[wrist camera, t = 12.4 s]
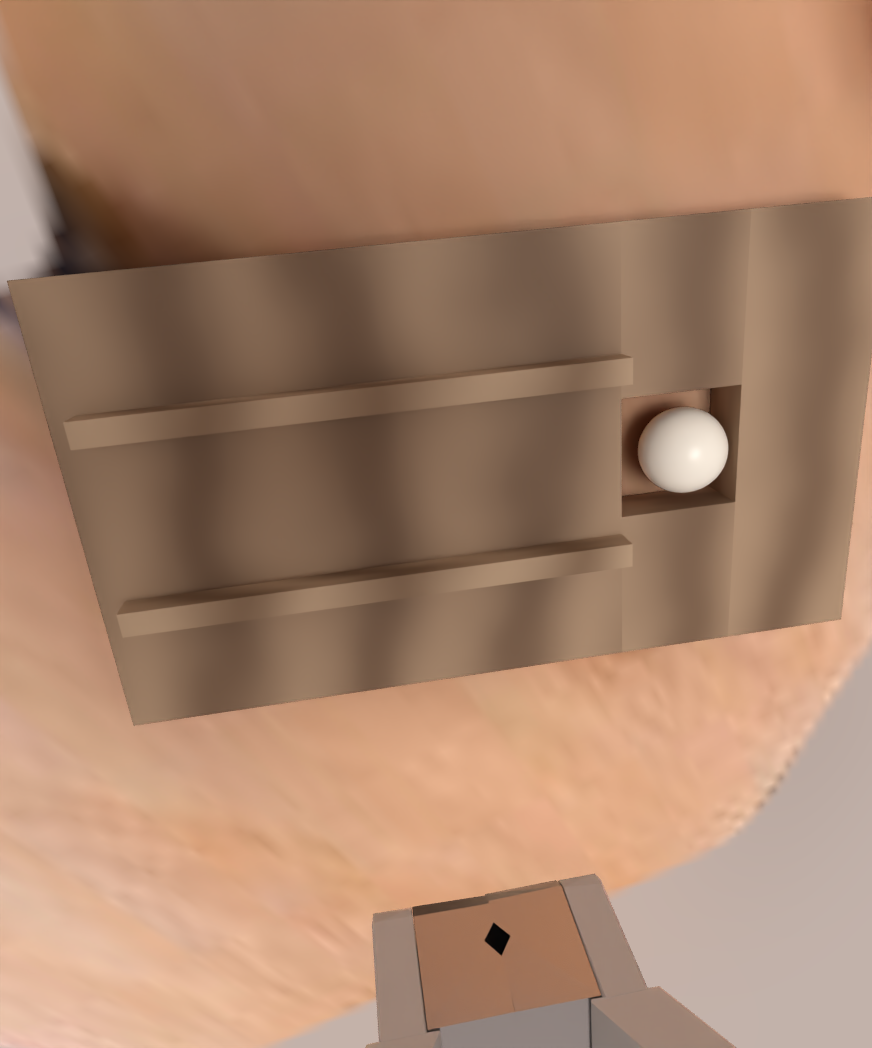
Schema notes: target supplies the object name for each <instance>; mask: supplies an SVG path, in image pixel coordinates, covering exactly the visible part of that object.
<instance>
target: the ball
mask: <svg viewBox="0 0 872 1048" xmlns="http://www.w3.org/2000/svg"><path fill="white" fill-rule="evenodd" d="M727 457H728V440H727V437H726V433H725V431H724V429H723V427H722V426H721V424H720V423H719V422H718V421H717V420H716V419H715V418H714V417H713V416H712V415H710V414H709V413H707V412H705V411H703V410H701V409H697V408H692V407H676V408H672V409H669V410H666V411H664V412H662V413H660V414H659V415H657V416H656V417H654V418H653V419H652V420H651V421H650V422H649V423H648V424H647V426H646V427H645V429H644V430H643V432H642V434H641V437H640V440H639V444H638V458H639V463H640V465H641V468H642V470H643V472H644V473H645V475H646V476H647V477H648V479H649V480H650V481H652V482H653V483H654V484H655V485H657V486H658V487H660V488H662V489H664V490H667V491H671V492H676V493H686V492H693V491H696V490H699V489H701V488H704V487H705V486H707V485H709V484H710V483H711V482H712V481H714V480H715V479H716V478H717V477H718V475H719V474H720V473H721V471H722V470H723V468H724V466H725V463H726V460H727Z"/></svg>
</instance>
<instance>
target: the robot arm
mask: <svg viewBox="0 0 872 1048" xmlns="http://www.w3.org/2000/svg"><path fill="white" fill-rule="evenodd" d="M412 909H413V915H412ZM412 909H411V908H405V909H399V910H393V911H387V912H381V913H375V914H373V922H372V932H373V949H374V966H375V983H376V1000H377V1017H378V1033H379V1042H376V1043H372V1044H368V1045H367V1046H366V1048H736V1047H735V1046H734V1045H733V1044H731V1043H730V1042H729V1041H727V1040H726V1039H725V1038H724V1037H723V1036H721V1035H720V1034H719V1033H718V1032H716V1031H715V1030H714V1029H713V1028H711V1027H710V1026H709V1025H707V1024H706V1023H705V1022H703V1021H702V1020H701V1019H700V1018H698V1017H697V1016H696V1015H695V1014H694V1013H692V1012H691V1011H690V1010H689V1009H687V1008H686V1007H685V1006H683V1005H682V1004H681V1003H680V1002H678V1001H677V1000H676V999H675V998H673V997H672V996H671V995H670V994H668V993H667V992H666V991H665V990H663V989H662V988H661V987H659V986H658V987H652V988H647V986H646V983H645V981H644V978H643V976H642V974H641V972H640V969H639V967H638V965H637V962H636V960H635V958H634V955H633V953H632V951H631V949H630V946H629V944H628V942H627V939H626V938H625V935H624V932H623V930H622V928H621V926H620V923H619V921H618V919H617V916H616V914H615V912H614V909H613V907H612V905H611V903H610V900H609V898H608V896H607V893H606V891H605V889H604V886H603V884H602V882H601V880H600V879H599V878H598V877H597V876H596V875H595V874H591V875H586V876H580V877H575V878H569V879H564V880H559V881H558V882H557V881H556V880H555V881H550V882H545V883H540V884H535V885H530V886H525V887H520V888H515V889H510V890H505V891H500V892H495V893H489V894H485V896H480V897H473V898H467V899H460V900H454V901H448V902H441V903H435V904H428V905H422V906H415V907H412ZM413 919H414V922H413ZM414 927H415V929H414Z"/></svg>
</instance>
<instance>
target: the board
mask: <svg viewBox="0 0 872 1048" xmlns="http://www.w3.org/2000/svg"><path fill="white" fill-rule="evenodd" d="M7 283H8V286H9V290H10V293H11V297H12V300H13V304H14V307H15V311H16V314H17V318H18V321H19V325H20V328H21V332H22V335H23V339H24V342H25V346H26V349H27V353H28V356H29V360H30V364H31V367H32V371H33V374H34V378H35V381H36V385H37V388H38V392H39V395H40V399H41V402H42V406H43V409H44V413H45V416H46V420H47V423H48V427H49V430H50V434H51V437H52V441H53V444H54V448H55V451H56V455H57V458H58V462H59V465H60V469H61V472H62V476H63V479H64V483H65V486H66V490H67V493H68V497H69V500H70V504H71V507H72V511H73V514H74V518H75V521H76V525H77V529H78V532H79V536H80V539H81V543H82V546H83V550H84V553H85V557H86V560H87V564H88V567H89V571H90V574H91V578H92V581H93V585H94V588H95V592H96V595H97V599H98V602H99V606H100V609H101V613H102V616H103V620H104V623H105V627H106V630H107V634H108V637H109V641H110V644H111V648H112V651H113V655H114V658H115V662H116V665H117V669H118V672H119V676H120V679H121V683H122V686H123V690H124V694H125V697H126V701H127V704H128V708H129V711H130V715H131V718H132V722H133V725H134V726H135V725H142V724H149V723H155V722H162V721H169V720H175V719H182V718H188V717H195V716H202V715H208V714H215V713H222V712H228V711H235V710H242V709H248V708H255V707H262V706H268V705H275V704H282V703H288V702H295V701H302V700H308V699H315V698H322V697H328V696H335V695H341V694H348V693H355V692H361V691H368V690H375V689H381V688H388V687H395V686H401V685H408V684H415V683H421V682H428V681H435V680H441V679H448V678H455V677H461V676H468V675H475V674H481V673H488V672H495V671H501V670H508V669H514V668H521V667H528V666H534V665H541V664H548V663H554V662H561V661H568V660H574V659H581V658H588V657H594V656H601V655H608V654H614V653H621V652H628V651H634V650H641V649H648V648H654V647H661V646H667V645H674V644H681V643H687V642H694V641H701V640H707V639H714V638H721V637H727V636H734V635H741V634H747V633H754V632H761V631H767V630H774V629H781V628H787V627H794V626H801V625H807V624H814V623H820V622H827V621H834V620H840V619H841V614H842V606H843V597H844V589H845V580H846V571H847V563H848V554H849V546H850V537H851V528H852V520H853V511H854V503H855V494H856V485H857V477H858V468H859V460H860V451H861V442H862V434H863V425H864V417H865V408H866V399H867V391H868V382H869V374H870V365H871V356H872V197H867V198H857V199H846V200H836V201H826V202H815V203H805V204H795V205H784V206H774V207H764V208H753V209H743V210H733V211H722V212H712V213H702V214H691V215H681V216H671V217H661V218H650V219H640V220H630V221H619V222H609V223H599V224H588V225H578V226H568V227H557V228H547V229H537V230H526V231H516V232H506V233H495V234H485V235H475V236H464V237H454V238H444V239H433V240H423V241H413V242H402V243H392V244H382V245H371V246H361V247H351V248H340V249H330V250H320V251H309V252H299V253H289V254H278V255H268V256H258V257H247V258H237V259H227V260H216V261H206V262H196V263H185V264H175V265H165V266H154V267H144V268H134V269H123V270H113V271H103V272H92V273H82V274H72V275H61V276H51V277H41V278H30V279H20V280H10V281H7ZM708 388H711V404H710V415H712V416H713V417H714V418H715V419H716V420H717V421H718V422H719V423H720V424H721V426H722V427H723V429H724V431H725V433H726V437H727V440H728V457H727V460H726V463H725V466H724V468H723V470H722V471H721V473H720V474H719V475H718V477H717V478H716V479H715V480H714V481H712V482H711V483H710V484H709V485H707V486H705V487H704V488H701V489H699V490H696V491H693V492H686V493H676V492H671V491H660V492H653V493H645V494H637V495H630V496H622V427H621V399H624V398H632V397H641V396H649V395H658V394H666V393H675V392H683V391H691V390H700V389H708Z"/></svg>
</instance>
